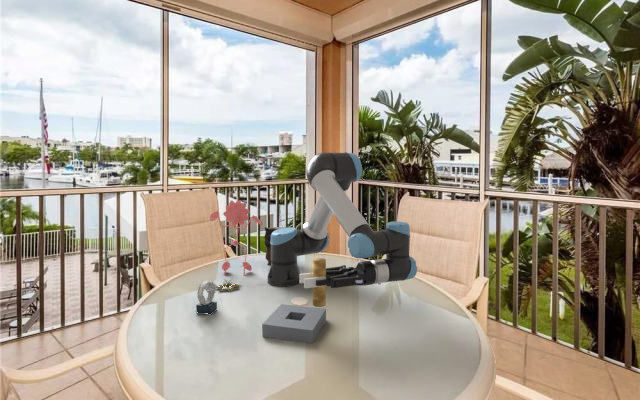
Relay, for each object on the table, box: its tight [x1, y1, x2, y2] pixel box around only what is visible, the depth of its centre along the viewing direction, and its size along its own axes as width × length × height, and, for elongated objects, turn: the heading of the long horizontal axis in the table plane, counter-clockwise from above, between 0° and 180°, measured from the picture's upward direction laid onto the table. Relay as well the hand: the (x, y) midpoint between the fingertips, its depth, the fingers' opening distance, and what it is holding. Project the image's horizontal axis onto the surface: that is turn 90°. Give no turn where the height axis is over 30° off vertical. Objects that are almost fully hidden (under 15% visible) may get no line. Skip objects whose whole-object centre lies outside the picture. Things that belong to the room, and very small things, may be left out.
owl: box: [264, 226, 289, 267], centre depth 185 cm, size 13×13×20 cm
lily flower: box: [217, 277, 241, 292], centre depth 151 cm, size 12×12×5 cm
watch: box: [195, 280, 218, 315], centre depth 127 cm, size 6×8×11 cm
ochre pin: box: [312, 257, 327, 308], centre depth 109 cm, size 4×4×14 cm
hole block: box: [261, 303, 327, 344], centre depth 114 cm, size 16×16×4 cm
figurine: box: [209, 199, 263, 276], centre depth 173 cm, size 15×26×35 cm, turn 86°
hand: (302, 281), depth 107 cm, fingers closed on ochre pin, 4 cm apart
